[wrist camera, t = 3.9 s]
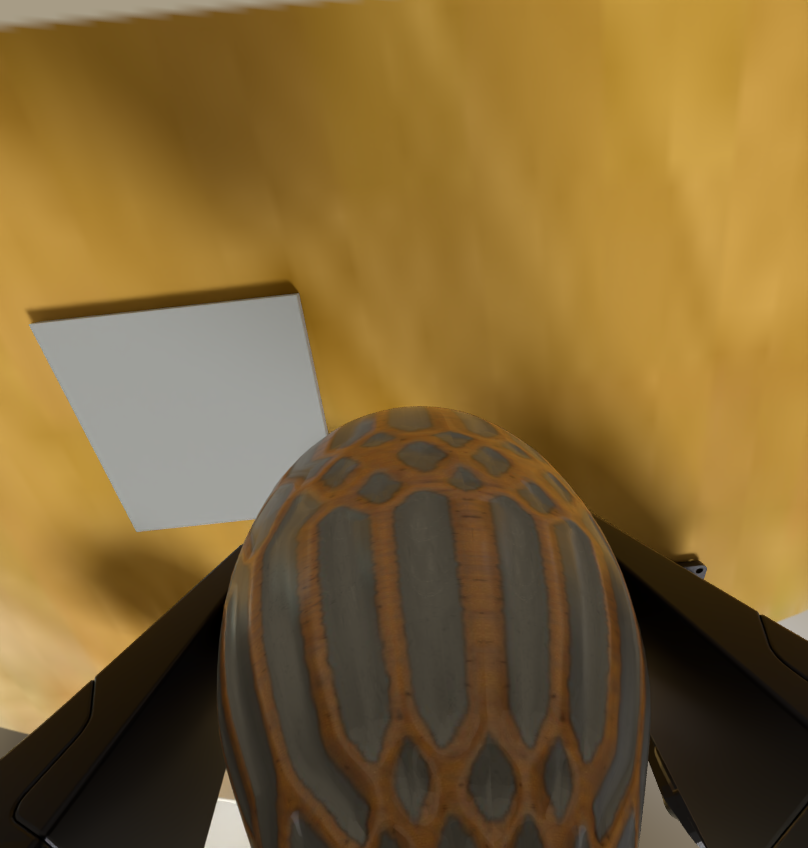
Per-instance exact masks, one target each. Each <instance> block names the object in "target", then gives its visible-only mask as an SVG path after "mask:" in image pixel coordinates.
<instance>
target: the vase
mask: <svg viewBox="0 0 808 848" xmlns="http://www.w3.org/2000/svg"><path fill="white" fill-rule="evenodd" d="M217 712H218V725H219V734H220V740H221V745H222V750H223V756H224V761H225V766H226V770H227V773H228V777H229V780H230V783H231V787H232V790H233V794H234V797H235V800H236V803H237V806H238V809H239V813H240V816H241V819H242V822H243V825H244V828H245V831H246V834H247V837H248V840H249V843H250V846H251V848H638V846H639V838H640V831H641V822H642V813H643V804H644V795H645V785H646V776H647V775H646V774H647V766H648V756H649V743H650V729H651V699H650V683H649V675H648V668H647V661H646V654H645V649H644V645H643V640H642V636H641V632H640V627H639V624H638V620H637V617H636V613H635V610H634V607H633V603H632V600H631V597H630V593H629V590H628V588H627V585H626V582H625V580H624V577H623V574H622V572H621V569H620V567H619V564H618V562H617V560H616V557H615V555H614V553H613V551H612V549H611V547H610V545H609V543H608V541H607V539H606V537H605V535H604V534H603V532H602V530H601V528H600V527H599V525H598V524H597V522H596V521H595V519H594V518H593V516H592V514H591V513H590V511H589V510H588V508H587V507H586V506H585V504H584V503H583V502H582V500H581V499H580V498H579V496H578V495H577V494H576V493H575V491H574V490H573V489H572V488H571V486H570V485H569V484H568V483H567V482H566V480H565V479H564V478H563V477H562V476H561V475H560V474H559V473H558V472H557V471H556V470H555V469H554V467H553V466H552V465H551V464H550V463H549V462H548V461H547V460H546V459H545V458H544V457H543V456H541V455H540V454H539V453H538V452H537V451H536V450H534V449H533V448H532V447H530V446H529V445H528V444H526V443H525V442H523V441H522V440H520V439H519V438H518V437H516V436H515V435H513V434H511V433H510V432H508V431H507V430H505V429H503V428H501V427H499V426H497V425H495V424H493V423H490V422H488V421H486V420H484V419H481V418H479V417H476V416H474V415H471V414H468V413H464V412H460V411H456V410H452V409H446V408H438V407H422V406H417V407H401V408H393V409H388V410H383V411H380V412H376V413H373V414H369V415H366V416H363V417H361V418H358V419H356V420H353V421H351V422H349V423H347V424H345V425H343V426H341V427H339V428H338V429H336V430H334V431H333V432H331V433H330V434H328V435H327V436H325V437H324V438H323V439H321V440H320V441H319V442H317V443H316V444H315V445H313V446H312V447H311V448H310V449H308V450H307V451H306V452H305V453H304V454H303V455H302V456H301V457H300V458H299V459H298V460H297V461H296V462H295V463H294V464H293V465H292V466H291V468H290V469H289V470H288V471H287V472H286V473H285V474H284V475H283V476H282V477H281V479H280V480H279V481H278V483H277V484H276V485H275V487H274V488H273V490H272V492H271V493H270V495H269V496H268V498H267V500H266V501H265V503H264V505H263V506H262V508H261V510H260V511H259V513H258V515H257V517H256V519H255V521H254V523H253V525H252V527H251V529H250V531H249V533H248V535H247V537H246V539H245V541H244V544H243V546H242V549H241V551H240V554H239V557H238V559H237V562H236V564H235V567H234V570H233V573H232V576H231V580H230V584H229V588H228V592H227V596H226V601H225V605H224V611H223V617H222V624H221V631H220V640H219V651H218V663H217Z"/></svg>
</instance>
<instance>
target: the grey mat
mask: <svg viewBox="0 0 808 848" xmlns="http://www.w3.org/2000/svg"><path fill="white" fill-rule="evenodd" d="M29 326H30V328H31V330H32V332H33V334H34V336H35V337H36V339H37V341H38V343H39V345H40V347H41V349H42V351H43V353H44V355H45V357H46V359H47V361H48V362H49V364H50V366H51V368H52V370H53V372H54V374H55V376H56V378H57V380H58V382H59V384H60V386H61V388H62V389H63V391H64V393H65V395H66V397H67V399H68V401H69V403H70V405H71V407H72V409H73V411H74V413H75V414H76V416H77V418H78V420H79V422H80V424H81V426H82V428H83V430H84V432H85V434H86V436H87V438H88V439H89V441H90V443H91V445H92V447H93V449H94V451H95V453H96V455H97V457H98V459H99V461H100V463H101V465H102V466H103V468H104V470H105V472H106V474H107V476H108V478H109V480H110V482H111V484H112V486H113V488H114V490H115V491H116V493H117V495H118V497H119V499H120V501H121V503H122V505H123V507H124V509H125V511H126V513H127V515H128V516H129V518H130V520H131V522H132V524H133V526H134V528H135V530H136V532H141V531H150V530H159V529H168V528H177V527H187V526H196V525H205V524H214V523H223V522H233V521H242V520H251V519H256V517H257V515H258V513H259V511H260V510H261V508H262V506H263V505H264V503H265V501H266V500H267V498H268V496H269V495H270V493H271V492H272V490H273V488H274V487H275V485H276V484H277V483H278V481H279V480H280V479H281V477H282V476H283V475H284V474H285V473H286V472H287V471H288V470H289V469H290V468H291V466H292V465H293V464H294V463H295V462H296V461H297V460H298V459H299V458H300V457H301V456H302V455H303V454H304V453H305V452H306V451H307V450H308V449H310V448H311V447H312V446H313V445H315V444H316V443H317V442H319V441H320V440H321V439H323V438H324V437H325V436H327V435H328V430H327V425H326V420H325V416H324V411H323V406H322V401H321V397H320V392H319V387H318V382H317V377H316V373H315V368H314V363H313V358H312V353H311V349H310V344H309V339H308V334H307V330H306V325H305V320H304V315H303V310H302V306H301V301H300V296H299V293H295V294H286V295H277V296H268V297H259V298H250V299H241V300H232V301H223V302H214V303H205V304H196V305H187V306H177V307H168V308H159V309H150V310H141V311H132V312H123V313H114V314H105V315H96V316H87V317H78V318H69V319H59V320H50V321H41V322H36V323H32V324H29Z"/></svg>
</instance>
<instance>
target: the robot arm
mask: <svg viewBox="0 0 808 848" xmlns="http://www.w3.org/2000/svg"><path fill="white" fill-rule="evenodd" d="M591 514H592V513H591ZM592 516H593V518H594V519H595V521H596V522H597V524H598V525H599V527H600V528H601V530H602V532H603V534H604V535H605V537H606V539H607V541H608V543H609V545H610V547H611V549H612V551H613V553H614V555H615V557H616V560H617V562H618V564H619V567H620V569H621V572H622V574H623V577H624V580H625V582H626V585H627V588H628V590H629V593H630V597H631V600H632V603H633V607H634V610H635V613H636V617H637V620H638V624H639V627H640V632H641V636H642V640H643V645H644V649H645V654H646V661H647V668H648V675H649V683H650V699H651V729H650V743H649V756H648V761H649V763H650V766H651V768H652V771H653V774H654V776H655V779H656V782H657V784H658V787H659V789H660V792H661V794H662V798H663V802H664V805H665V807H666V809H667V811H668V812H669V814H670V815H671V816H672V817H674V818H675V819H677V820H678V821H680V822H681V824H682V825H683V827H684V828H685V830H686V831H687V833H688V834H689V835H690V837H691V838H692V839H693V840H694V842H695V843H696V844H697V845H698V846H699V847H700V848H808V641H807V640H805V639H804V638H802V637H800V636H799V635H797V634H795V633H793V632H792V631H790V630H788V629H786V628H785V627H783V626H781V625H779V624H778V623H776V622H775V621H773V620H771V619H770V618H768V617H766V616H765V615H759V613H758V612H757V611H756V610H754V609H752V608H751V607H749V606H747V605H746V604H744V603H742V602H741V601H739V600H737V599H736V598H734V597H732V596H731V595H729V594H727V593H725V592H724V591H722V590H720V589H719V588H717V587H715V586H714V585H712V584H710V583H709V582H707V581H705V580H704V577H705V574H706V571H707V568H706V566H705V565H704V564H703V563H702V562H701V561H691V562H682V563H675V562H673V561H671V560H670V559H668V558H666V557H665V556H663V555H661V554H660V553H658V552H656V551H655V550H653V549H651V548H649V547H648V546H646V545H644V544H643V543H641V542H639V541H638V540H636V539H634V538H633V537H631V536H629V535H628V534H626V533H624V532H622V531H621V530H619V529H617V528H616V527H614V526H612V525H611V524H609V523H607V522H606V521H604V520H602V519H601V518H599V517H597V516H595V515H594V514H592ZM242 546H243V544H242V545H240V546H239V547H238V548H237V549H236V550H235V551H234V552H233V553H231V554H230V555H229V556H228V557H227V558H226V559H225V560H224V561H223V562H221V563H220V564H219V565H218V566H217V567H216V568H215V569H214V570H213V571H212V572H210V573H209V574H208V575H207V576H206V577H205V578H204V579H203V580H202V581H200V582H199V583H198V584H197V585H196V586H195V587H194V588H193V589H192V590H190V591H189V592H188V593H187V594H186V595H185V596H184V597H183V598H182V599H181V600H179V601H178V602H177V603H176V604H175V605H174V606H173V607H172V608H171V609H169V610H168V611H167V612H166V613H165V614H164V615H163V616H162V617H161V618H160V619H158V620H157V621H156V622H155V623H154V624H153V625H152V626H151V627H150V628H148V629H147V630H146V631H145V632H144V633H143V634H142V635H141V636H140V637H139V638H137V639H136V640H135V641H134V642H133V643H132V644H131V645H130V646H129V647H127V648H126V649H125V650H124V651H123V652H122V653H121V654H120V655H119V656H118V657H116V658H115V659H114V660H113V661H112V662H111V663H110V664H109V665H108V666H106V667H105V668H104V669H103V670H102V671H101V672H100V673H99V674H98V675H96V677H95V681H94V680H91V681H90V682H89V683H87V684H86V685H85V686H84V687H83V688H82V689H81V690H80V691H79V692H78V693H76V694H75V695H74V696H73V697H72V698H71V699H70V700H69V701H67V702H66V703H65V704H64V705H63V706H62V707H61V708H60V709H58V710H57V711H56V712H55V713H54V714H53V715H52V716H50V717H49V718H48V719H47V720H46V721H45V722H44V723H42V724H41V725H40V726H39V727H38V728H37V729H36V730H34V731H33V732H32V733H31V734H30V735H28V736H27V737H26V738H25V739H24V740H23V741H21V742H20V743H19V744H18V745H17V746H15V747H14V748H13V749H12V750H10V751H9V752H8V753H7V754H6V755H4V756H3V757H2V758H1V759H0V848H204V847H205V843H206V840H207V836H208V832H209V829H210V825H211V821H212V818H213V814H214V811H215V807H216V803H217V800H218V796H219V792H220V789H221V785H222V782H223V778H224V774H225V771H226V766H225V761H224V756H223V750H222V745H221V740H220V734H219V725H218V712H217V663H218V651H219V640H220V631H221V624H222V617H223V611H224V605H225V601H226V596H227V592H228V588H229V584H230V580H231V576H232V573H233V570H234V567H235V564H236V562H237V559H238V557H239V554H240V551H241V549H242Z"/></svg>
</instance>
